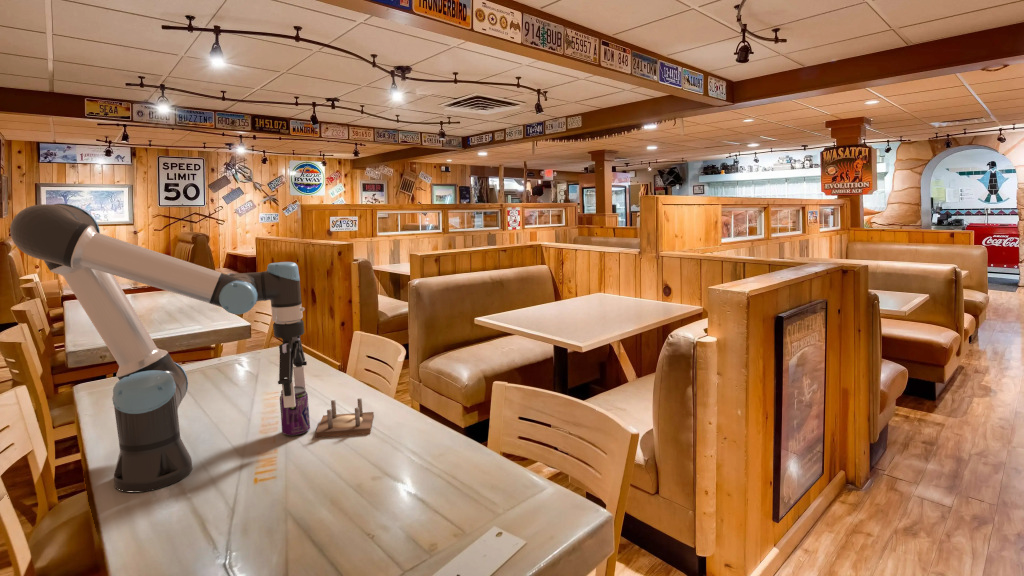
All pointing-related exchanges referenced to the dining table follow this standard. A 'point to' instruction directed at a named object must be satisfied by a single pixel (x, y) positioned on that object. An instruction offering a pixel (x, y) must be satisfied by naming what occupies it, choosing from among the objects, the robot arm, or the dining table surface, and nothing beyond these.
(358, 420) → the pin board
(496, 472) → the dining table surface
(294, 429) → the beverage can
